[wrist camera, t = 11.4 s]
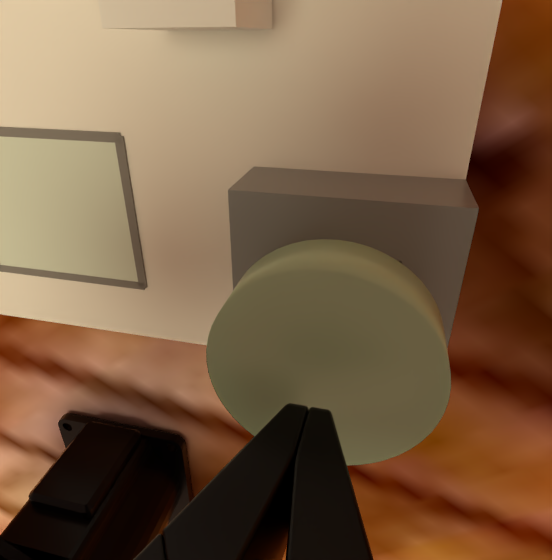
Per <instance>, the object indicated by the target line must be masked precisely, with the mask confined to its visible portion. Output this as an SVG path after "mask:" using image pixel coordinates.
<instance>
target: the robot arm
mask: <svg viewBox="0 0 552 560" xmlns="http://www.w3.org/2000/svg"><path fill="white" fill-rule="evenodd" d="M58 425H59V428H60V431H61V435H62V438H63V441H64V444H65V447H66V449H65V450H64V452H63V453H62V454H61V455H60V457H59V458H58V459H57V460H56V461H55V463H54V464H53V465H52V466H51V468H50V469H49V470H48V471H47V473H46V474H45V475H44V476H43V478H42V479H41V480H40V481H39V482H38V484H37V485H36V486H35V487H34V489H33V490H32V491H31V492H30V494H29V500H28V501H27V502H26V504H25V505H24V506H23V507H22V509H21V510H20V511H19V512H18V514H17V515H16V516H15V517H14V519H13V520H12V521H11V522H10V524H9V525H8V526H7V527H6V529H5V530H4V531H3V532H2V534H1V535H0V560H282V558H283V555H284V552H285V549H286V545H287V550H286V560H373V556H372V553H371V549H370V546H369V542H368V539H367V535H366V532H365V528H364V525H363V521H362V518H361V514H360V511H359V507H358V503H357V500H356V496H355V493H354V489H353V486H352V482H351V479H350V475H349V472H348V468H347V465H346V461H345V458H344V454H343V451H342V447H341V444H340V440H339V437H338V433H337V430H336V426H335V423H334V419H333V416H332V413H331V411H330V410H328V409H322V408H317V407H311V408H310V409H308V407H307V406H305V405H299V404H293V403H288V404H286V405H285V406H284V407H283V408H282V409H281V410H280V411H279V412H278V413H277V414H276V415H275V416H274V417H273V418H272V419H271V420H270V421H269V422H268V423H267V424H266V425H265V426H264V427H263V428H262V429H261V430H260V431H259V432H258V433H257V434H256V435H255V436H254V437H253V438H252V439H251V440H250V442H249V443H248V444H247V445H246V446H245V447H244V448H243V449H242V450H241V451H240V452H239V453H238V454H237V455H236V456H235V457H234V458H233V459H232V460H231V461H230V462H229V463H228V464H227V465H226V466H225V467H224V468H223V469H222V470H221V471H220V472H219V473H218V474H217V475H216V476H215V477H214V478H213V479H212V480H211V481H210V482H209V483H208V484H207V485H206V486H205V487H204V488H203V489H202V490H201V491H200V492H199V493H198V494H197V495H196V496H195V497H194V498H193V494H192V487H191V479H190V472H189V465H188V457H187V450H186V443H185V441H184V440H183V438H182V437H180V436H179V435H176V434H172V433H167V432H162V431H156V430H151V429H146V428H141V427H136V426H131V425H126V424H121V423H116V422H111V421H106V420H101V419H96V418H91V417H86V416H81V415H76V414H71V413H67V414H65V415H64V416H63V417H62V418H61V419H60V420H59V422H58ZM167 524H168V525H167ZM162 535H163V536H162Z"/></svg>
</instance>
